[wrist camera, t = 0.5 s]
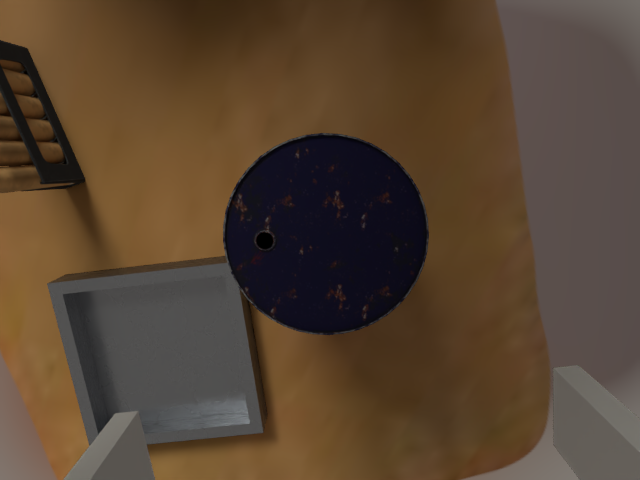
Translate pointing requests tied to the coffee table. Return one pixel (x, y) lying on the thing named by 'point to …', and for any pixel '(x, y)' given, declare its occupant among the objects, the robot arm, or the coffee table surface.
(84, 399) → the cradle tray
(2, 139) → the ammunition clip
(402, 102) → the coffee table surface
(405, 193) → the storage jar
